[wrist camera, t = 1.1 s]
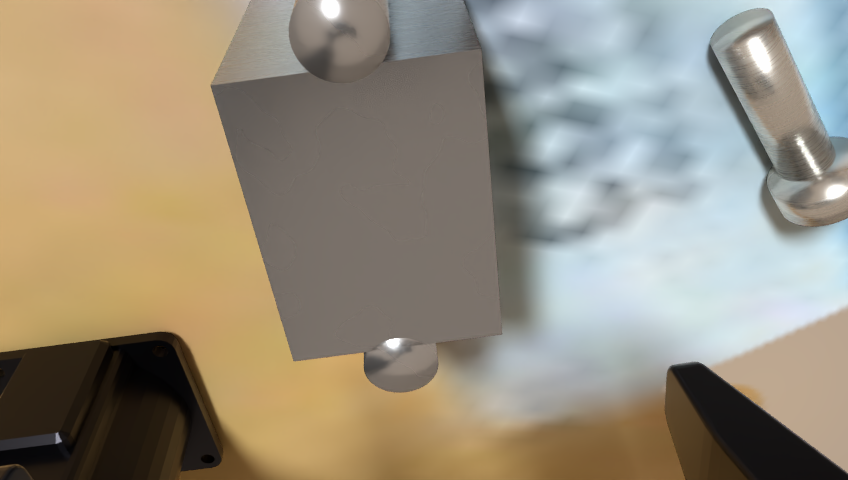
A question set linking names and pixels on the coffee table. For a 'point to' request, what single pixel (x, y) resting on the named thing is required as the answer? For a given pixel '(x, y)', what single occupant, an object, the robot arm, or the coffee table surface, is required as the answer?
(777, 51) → the loose bolt
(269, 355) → the coffee table surface
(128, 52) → the coffee table surface
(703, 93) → the coffee table surface
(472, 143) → the block
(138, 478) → the robot arm
